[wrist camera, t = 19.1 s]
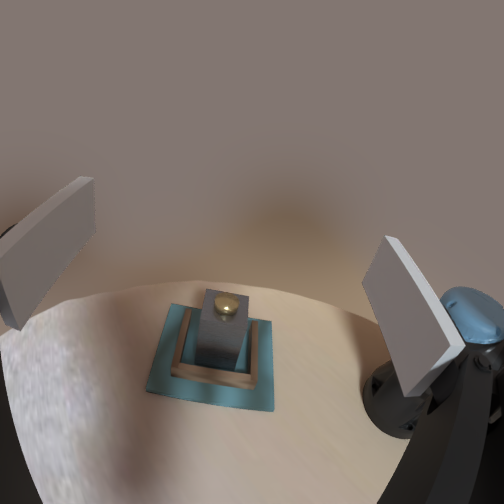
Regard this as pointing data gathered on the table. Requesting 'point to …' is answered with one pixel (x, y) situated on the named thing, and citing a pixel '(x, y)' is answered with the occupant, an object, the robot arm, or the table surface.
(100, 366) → the table surface
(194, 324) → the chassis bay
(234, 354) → the grey block with knob
